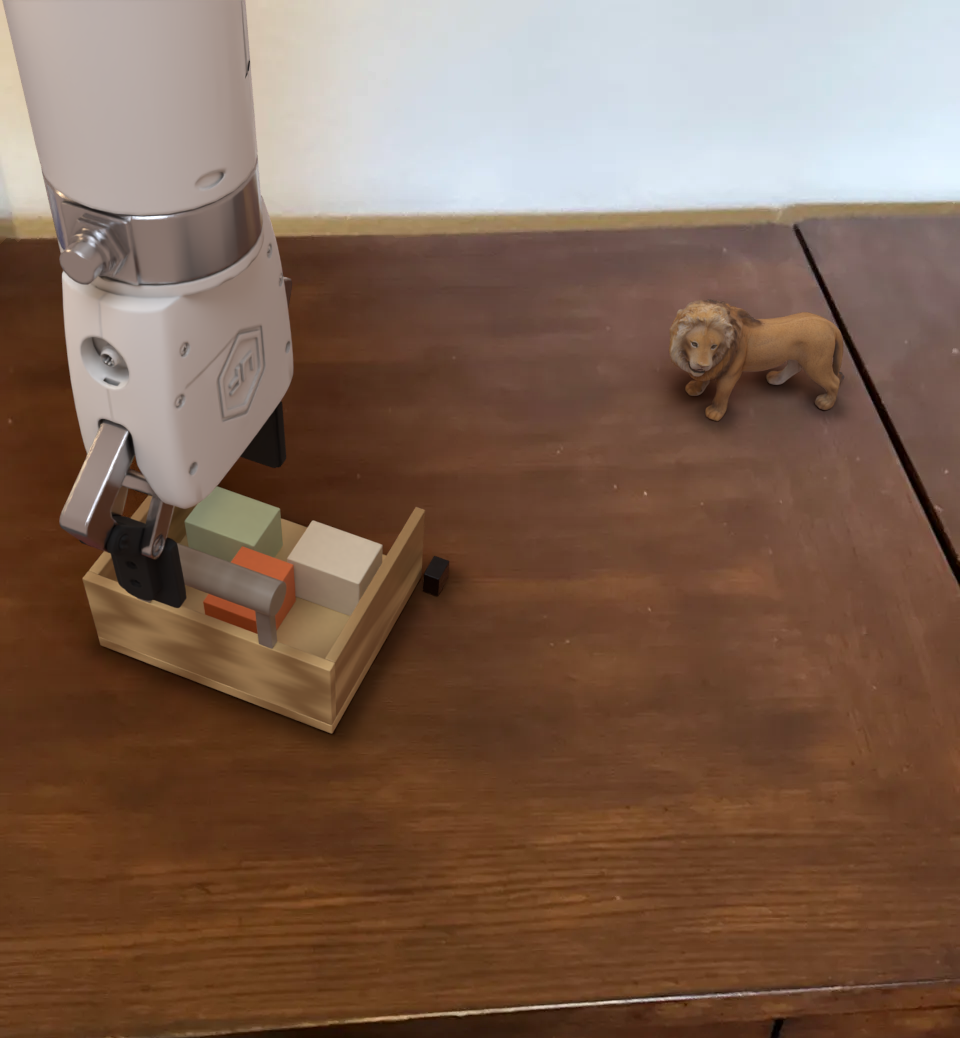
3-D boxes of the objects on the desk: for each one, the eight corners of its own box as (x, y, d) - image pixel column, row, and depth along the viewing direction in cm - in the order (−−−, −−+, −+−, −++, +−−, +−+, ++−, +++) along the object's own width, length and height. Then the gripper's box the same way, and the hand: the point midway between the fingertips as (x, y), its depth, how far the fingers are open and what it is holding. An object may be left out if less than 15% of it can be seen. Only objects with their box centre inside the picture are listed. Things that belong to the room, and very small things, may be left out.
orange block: (260, 657, 69) (256, 621, 66) (208, 637, 70) (202, 601, 67) (296, 600, 72) (293, 564, 69) (246, 582, 72) (241, 545, 70)
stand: (182, 505, 77) (179, 487, 76) (195, 488, 78) (192, 470, 76) (437, 596, 74) (439, 579, 73) (448, 578, 75) (449, 560, 74)
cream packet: (289, 594, 72) (286, 558, 69) (313, 556, 74) (312, 519, 71) (359, 620, 71) (359, 584, 69) (382, 580, 73) (383, 544, 70)
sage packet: (189, 558, 73) (183, 520, 70) (216, 521, 75) (211, 483, 72) (257, 583, 72) (254, 546, 70) (283, 545, 74) (280, 508, 72)
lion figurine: (669, 446, 83) (697, 338, 76) (636, 393, 86) (660, 285, 79) (858, 406, 87) (903, 299, 80) (821, 356, 90) (860, 250, 83)
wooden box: (94, 653, 69) (57, 523, 61) (208, 500, 77) (189, 366, 68) (327, 742, 67) (322, 620, 59) (421, 576, 74) (429, 447, 66)
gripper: (121, 373, 40) (185, 684, 54) (351, 115, 50) (356, 432, 64) (-79, 307, 41) (33, 627, 55) (185, 69, 52) (224, 388, 65)
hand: (206, 522), depth 59 cm, fingers open, 9 cm apart
